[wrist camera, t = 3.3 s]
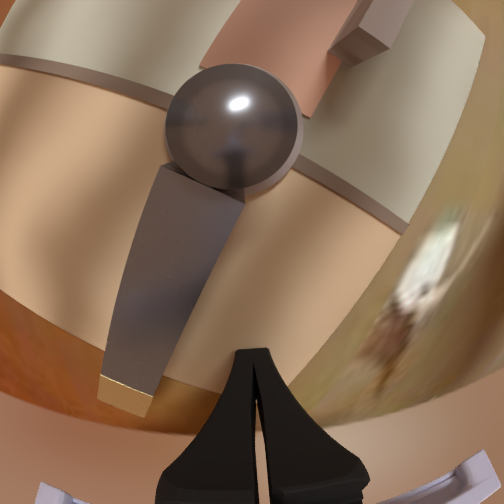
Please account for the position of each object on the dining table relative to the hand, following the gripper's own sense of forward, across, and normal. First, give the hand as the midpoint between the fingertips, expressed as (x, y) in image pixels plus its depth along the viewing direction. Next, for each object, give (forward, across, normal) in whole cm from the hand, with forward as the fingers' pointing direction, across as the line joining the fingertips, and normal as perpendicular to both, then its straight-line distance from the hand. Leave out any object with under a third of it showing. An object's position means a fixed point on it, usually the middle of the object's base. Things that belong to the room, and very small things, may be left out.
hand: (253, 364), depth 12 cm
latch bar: (0, +3, -5) cm, 6 cm away
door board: (+1, +3, -11) cm, 11 cm away
